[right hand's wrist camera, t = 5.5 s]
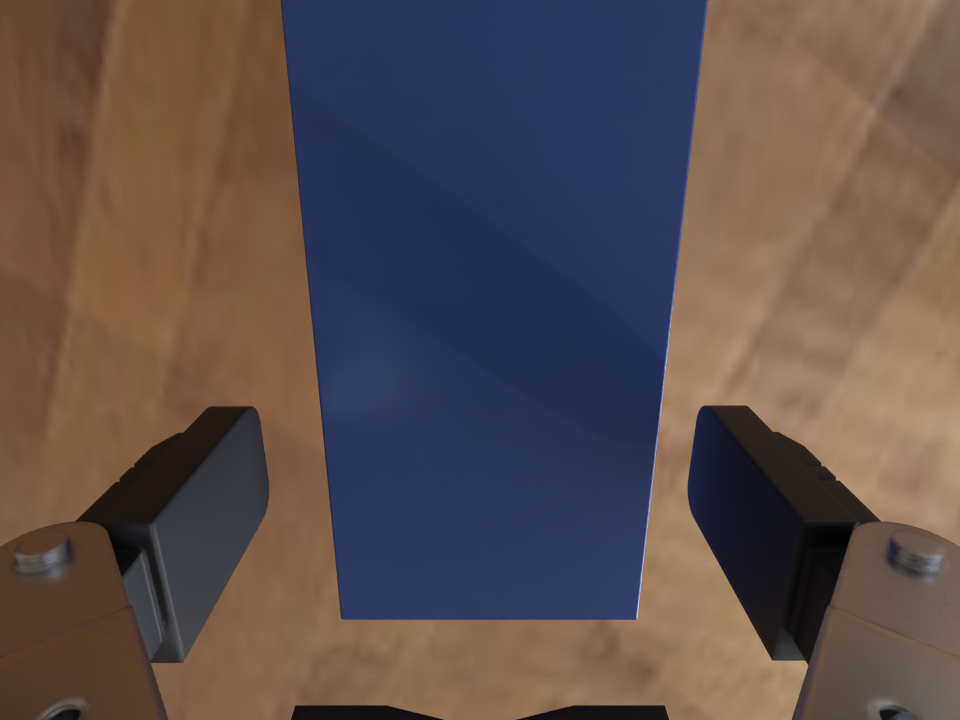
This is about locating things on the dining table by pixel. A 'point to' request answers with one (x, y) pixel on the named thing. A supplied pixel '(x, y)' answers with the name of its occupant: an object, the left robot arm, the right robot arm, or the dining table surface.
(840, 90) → the dining table surface
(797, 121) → the dining table surface
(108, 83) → the dining table surface
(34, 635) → the right robot arm
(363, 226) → the box
